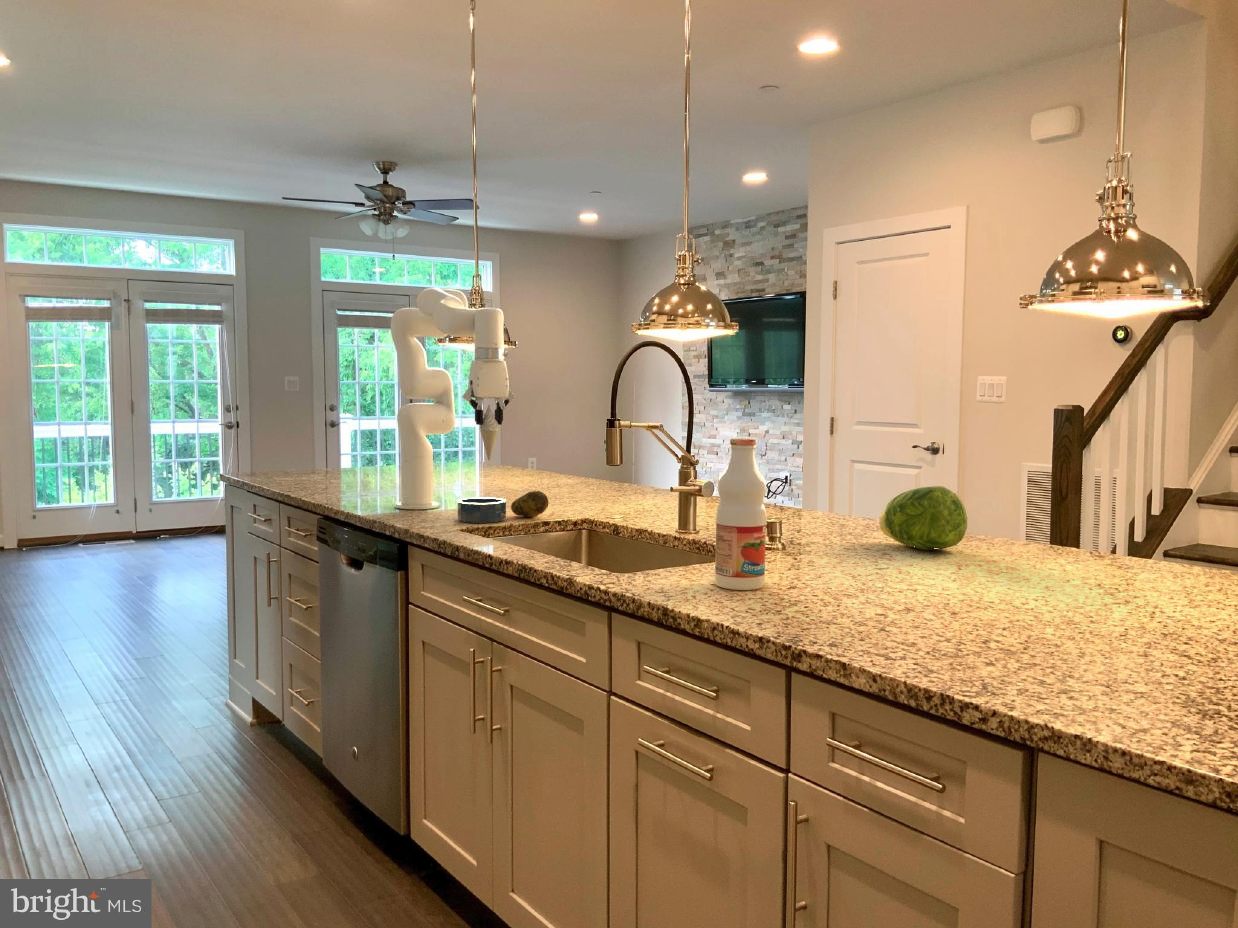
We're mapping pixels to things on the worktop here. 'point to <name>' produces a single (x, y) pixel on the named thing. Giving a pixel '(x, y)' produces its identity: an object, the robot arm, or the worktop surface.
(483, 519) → the bowl
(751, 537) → the fruit juice
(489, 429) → the ice cream cone
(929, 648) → the worktop surface
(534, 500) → the potato
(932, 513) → the lettuce
